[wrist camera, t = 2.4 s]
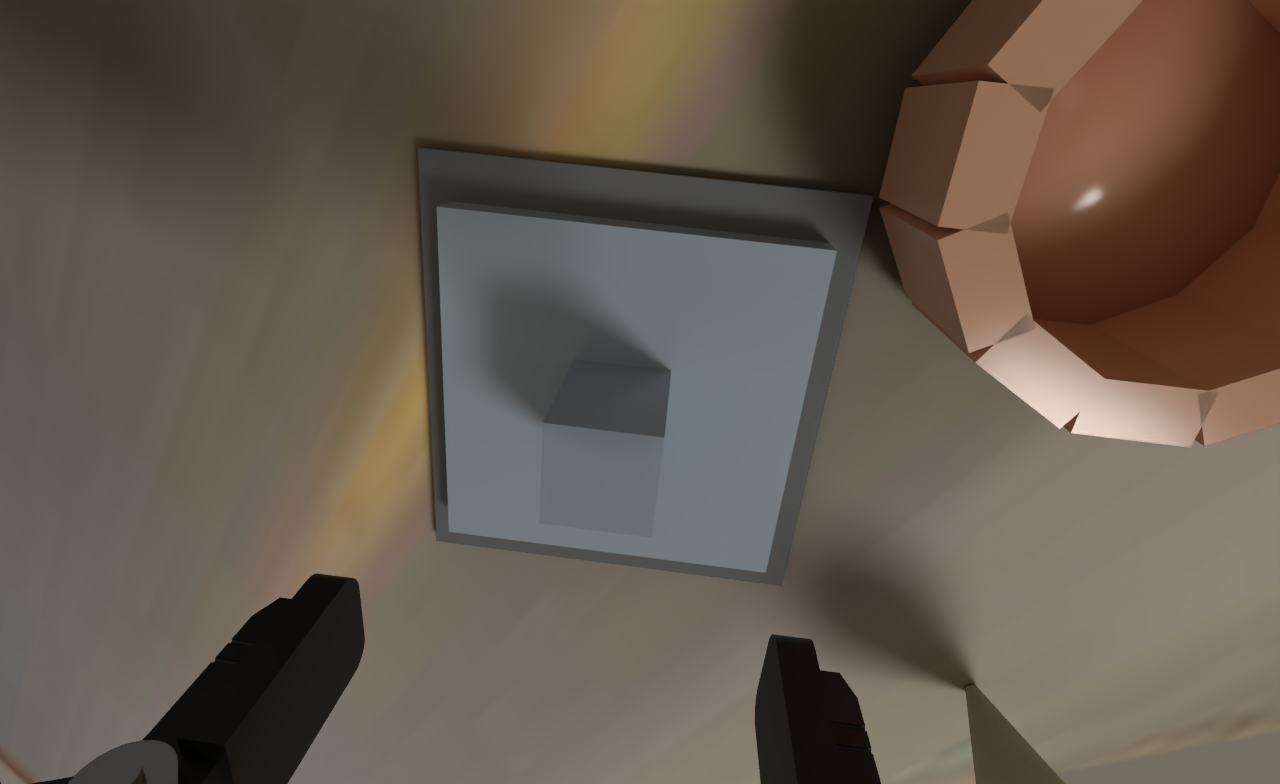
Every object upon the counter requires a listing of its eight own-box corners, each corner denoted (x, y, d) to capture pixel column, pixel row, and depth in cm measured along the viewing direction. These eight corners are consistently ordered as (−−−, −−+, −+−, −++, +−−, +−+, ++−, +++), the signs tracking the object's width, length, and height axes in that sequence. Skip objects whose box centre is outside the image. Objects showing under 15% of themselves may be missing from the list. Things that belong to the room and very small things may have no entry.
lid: (450, 201, 20) (363, 234, 15) (829, 242, 20) (876, 292, 15) (459, 513, 25) (396, 620, 20) (762, 552, 25) (780, 672, 20)
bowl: (940, -107, 16) (1061, -213, 11) (1424, -64, 16) (1800, -152, 11) (837, 333, 21) (885, 411, 16) (1204, 375, 21) (1382, 470, 15)
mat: (422, 147, 20) (417, 147, 20) (870, 194, 20) (873, 196, 19) (440, 534, 26) (436, 540, 26) (780, 578, 26) (781, 585, 25)
